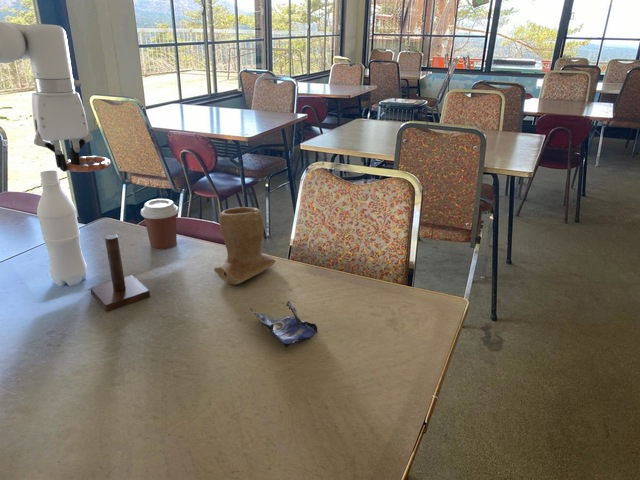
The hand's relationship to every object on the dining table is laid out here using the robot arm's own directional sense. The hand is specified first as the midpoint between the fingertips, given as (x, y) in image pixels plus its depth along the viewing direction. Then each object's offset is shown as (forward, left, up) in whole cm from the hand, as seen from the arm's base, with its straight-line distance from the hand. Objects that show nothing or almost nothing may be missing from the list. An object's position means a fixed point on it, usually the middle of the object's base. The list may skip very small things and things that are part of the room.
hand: (69, 168), depth 111 cm
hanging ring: (+4, 0, +1) cm, 4 cm away
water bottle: (-7, -14, -22) cm, 27 cm away
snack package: (+17, -59, -22) cm, 65 cm away
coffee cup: (+17, -9, -22) cm, 29 cm away
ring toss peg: (-1, -26, -22) cm, 34 cm away
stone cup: (+25, -33, -22) cm, 47 cm away
